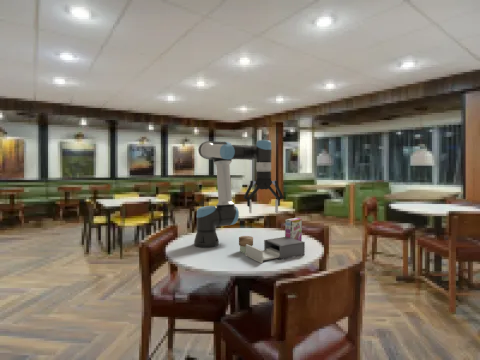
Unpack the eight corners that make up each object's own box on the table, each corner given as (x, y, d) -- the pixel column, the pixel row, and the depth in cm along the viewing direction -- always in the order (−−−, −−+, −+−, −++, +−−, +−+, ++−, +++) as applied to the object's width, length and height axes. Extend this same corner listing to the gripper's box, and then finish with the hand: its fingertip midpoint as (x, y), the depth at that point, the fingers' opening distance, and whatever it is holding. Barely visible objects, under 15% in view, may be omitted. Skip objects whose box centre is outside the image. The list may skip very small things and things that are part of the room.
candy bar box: (291, 248, 170) (291, 220, 170) (284, 246, 174) (284, 219, 173) (302, 245, 178) (302, 218, 177) (295, 243, 182) (295, 217, 181)
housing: (286, 248, 170) (286, 236, 170) (304, 254, 157) (304, 242, 157) (264, 252, 162) (264, 240, 162) (280, 259, 149) (280, 246, 149)
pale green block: (240, 251, 165) (239, 244, 165) (247, 249, 168) (247, 243, 167) (244, 253, 161) (244, 246, 161) (252, 252, 163) (252, 245, 163)
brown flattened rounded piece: (236, 244, 165) (236, 237, 165) (248, 242, 169) (248, 235, 169) (243, 247, 158) (243, 239, 158) (255, 245, 162) (255, 238, 162)
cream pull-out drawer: (269, 251, 164) (269, 240, 164) (286, 258, 151) (286, 246, 151) (245, 255, 156) (245, 244, 156) (261, 263, 143) (261, 251, 143)
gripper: (240, 171, 142) (240, 214, 143) (289, 171, 145) (289, 213, 146) (238, 170, 150) (238, 211, 151) (285, 170, 152) (285, 211, 153)
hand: (263, 212), depth 148 cm, fingers open, 13 cm apart
